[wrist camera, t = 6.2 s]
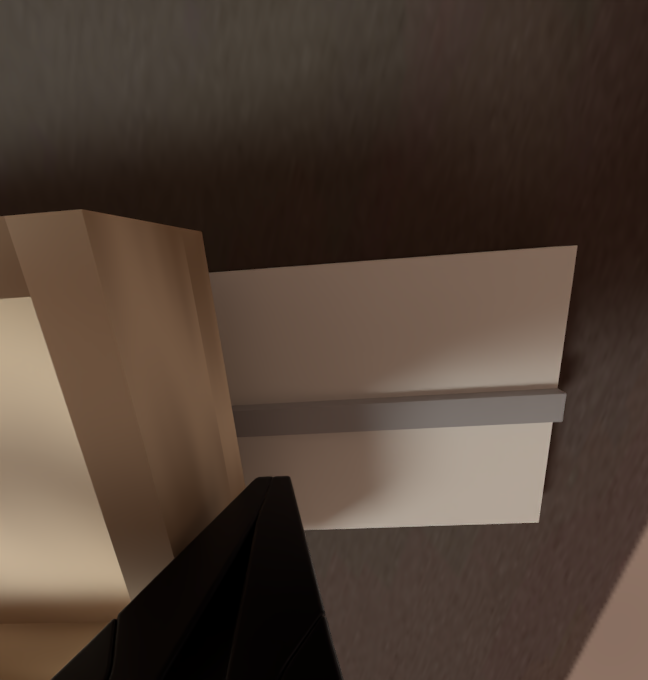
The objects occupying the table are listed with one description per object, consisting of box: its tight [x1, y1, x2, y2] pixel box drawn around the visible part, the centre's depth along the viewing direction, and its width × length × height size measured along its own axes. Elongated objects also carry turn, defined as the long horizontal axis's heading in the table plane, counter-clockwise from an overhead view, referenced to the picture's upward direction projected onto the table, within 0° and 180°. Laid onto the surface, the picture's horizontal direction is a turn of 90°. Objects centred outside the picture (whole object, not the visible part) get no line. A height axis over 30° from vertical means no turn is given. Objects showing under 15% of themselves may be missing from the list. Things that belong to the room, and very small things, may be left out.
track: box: [209, 245, 578, 530], centre depth 9 cm, size 10×31×5 cm, turn 94°
